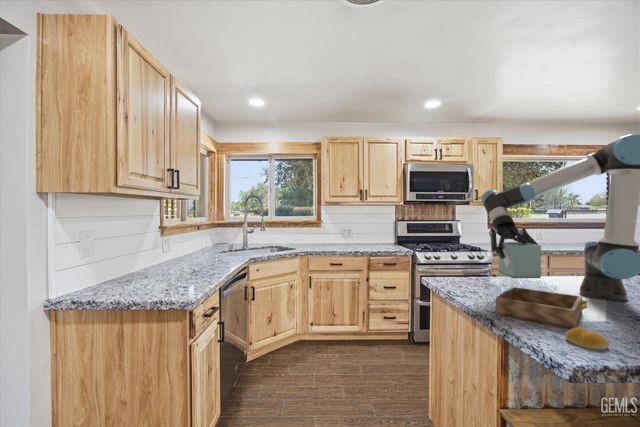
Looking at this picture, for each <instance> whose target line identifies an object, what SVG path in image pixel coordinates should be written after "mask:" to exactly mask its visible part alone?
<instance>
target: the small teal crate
mask: <svg viewBox="0 0 640 427" xmlns="http://www.w3.org/2000/svg"><path fill="white" fill-rule="evenodd" d="M499 243H500V242H499V241H498V244H499ZM502 244H503V248H502V249H505V250H506V252H507V255H508V257H509V259H510V261H511V264H510V266H509V267H506V265H505V263H504V260H503V259H501V258H500V256H499V255H498V273H499V274H502V275H505V276H506V277H509V278H511V279H541V278H542V277H541V276H542V274H541V273H542V272H541V270H542V269H541V268H542V265H541V264H542V245H540V244H538V245H536V244H531V243H525V244H524V245H523V243H522V242H517V241H507V242H506V241H504V243H502Z"/></svg>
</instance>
